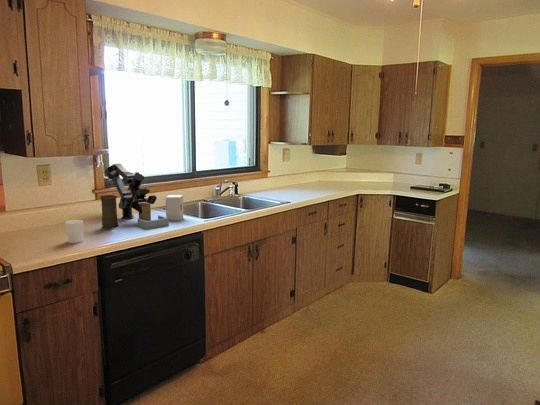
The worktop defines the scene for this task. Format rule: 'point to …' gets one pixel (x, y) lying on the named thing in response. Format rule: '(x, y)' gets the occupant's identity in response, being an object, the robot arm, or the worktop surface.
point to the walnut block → (145, 211)
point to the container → (109, 212)
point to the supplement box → (174, 207)
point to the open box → (153, 223)
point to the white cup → (74, 231)
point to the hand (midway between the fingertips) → (145, 212)
